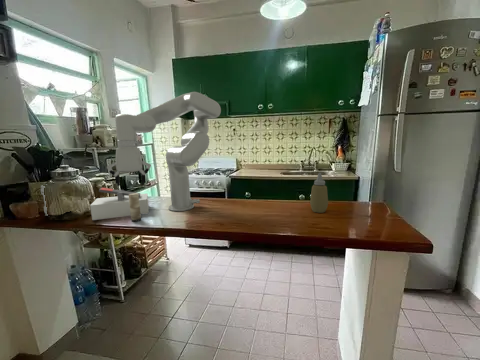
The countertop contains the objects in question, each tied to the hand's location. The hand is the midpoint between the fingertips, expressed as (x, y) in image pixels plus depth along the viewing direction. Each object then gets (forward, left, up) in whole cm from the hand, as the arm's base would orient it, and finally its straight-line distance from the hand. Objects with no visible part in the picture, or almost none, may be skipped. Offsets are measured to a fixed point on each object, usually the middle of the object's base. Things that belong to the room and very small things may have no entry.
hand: (131, 184), depth 105 cm
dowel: (-1, 0, -16) cm, 16 cm away
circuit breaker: (+34, -27, -17) cm, 47 cm away
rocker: (+6, -16, -6) cm, 19 cm away
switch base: (+6, -16, -16) cm, 24 cm away
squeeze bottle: (-81, +23, -17) cm, 85 cm away
